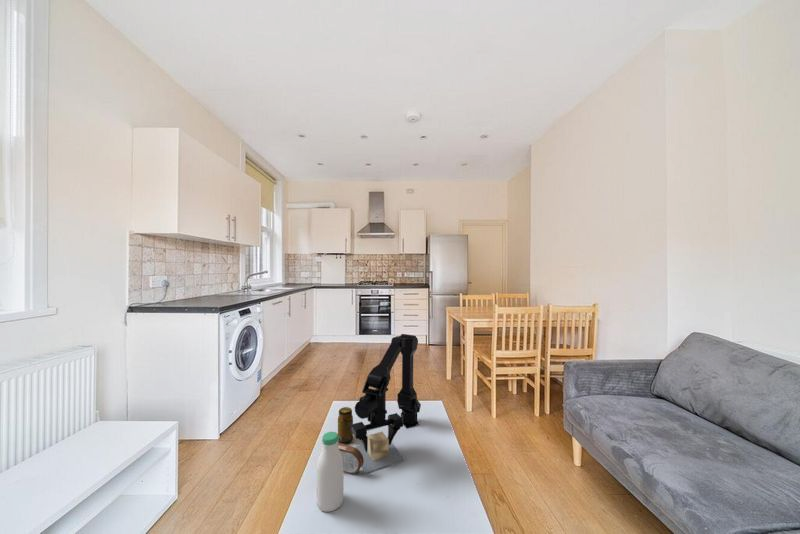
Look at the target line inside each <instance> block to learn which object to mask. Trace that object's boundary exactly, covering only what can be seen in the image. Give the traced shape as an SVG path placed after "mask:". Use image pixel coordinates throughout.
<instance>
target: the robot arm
mask: <svg viewBox="0 0 800 534" xmlns="http://www.w3.org/2000/svg"><path fill="white" fill-rule="evenodd" d="M418 344H419V338H418V337H417V336H416V335H414V334H413V335H412V334H407V333H401V334H400V335H397V336H394V337H392V338H391V342H390V344H389V346H388V348H387V350H386V351H385V353H384V355H383V357H382V359H381V360H380V362H379V363H378V364H377V365H376V366H374V367H372V369H371V370H370V372H369V373H368V374H367V377H366V380H365V382H364V385H363V388H362V391H361V393H362V394H365V395H363V396H360V397H359V401H358V402H356V403H355V406H354V412H355V414H356V416H357V418H359V419H361V420H362V419H363V420H365V419H367V422H369V423H368V424H364V423H363V422H362V421H360V422H355V423H353V425H352V433H353V436H354V437H355V438H356V439H357V440H358V441H361V443H362V445H363V446H364V449H365V451H366V452H367V450H368V432H369V431H373V430H375V429H379V428H382V427H386V426H387V438H388V440H389V445H390V444H391V442H392V443H393V440H394V438H395V436H396V434H397V433H398V432H399V430H401V428H403V427H405V428H406V429H408V428H411V427H415V426H419V425H420V423H419V421H418V413H420V410H421V405H422V404H421V403H420V400H418V395H417V392H416V390H415V389H414V354H415V353H416V351H417V350H418ZM400 354H401V360H402V361H401V389H400V390H399V392H398V393H397V400H396V402H397V406H398V409H399V410H401V413H400V415H399V414H398V413H397V412H396V413H392V414H388V410H387V409H386V407H387V406H386V401H387V399H386V397H387V396H386V395H387V393H386V392H388V391H389V388H388V386H389V384H390V380H391V371H392V368H393V366H394V364H395V363H396V361H397V358H398V357H399V355H400ZM387 414H388V415H387ZM386 415H387V419H386Z"/></svg>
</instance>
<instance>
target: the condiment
mask: <svg viewBox="0 0 800 534" xmlns="http://www.w3.org/2000/svg"><path fill="white" fill-rule="evenodd" d="M337 416H338V417H337V434H338V443H340V444H344V445H349V446H353V445H355V444H357V443H359V442H360V440H359V439H356V438H355V436H354V435H353V433H352V425H353V424H354V416H353V410H352V408H351V407H348V406H346V407H345V406H343V407H341V408H339V410H338V415H337Z"/></svg>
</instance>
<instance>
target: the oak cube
mask: <svg viewBox="0 0 800 534" xmlns="http://www.w3.org/2000/svg"><path fill="white" fill-rule="evenodd" d="M367 437H368V453H369V455H370V456H371V458H372V459H373V461H374V460H378V459H381V458H384V457H387V456H389V440H388V436H386V434H385V433H384V432H383V431H379V432H375V433H372V434H367Z"/></svg>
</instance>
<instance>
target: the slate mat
mask: <svg viewBox="0 0 800 534" xmlns="http://www.w3.org/2000/svg"><path fill="white" fill-rule="evenodd" d="M354 447H355V448H357V449H358V450H359V451H360V452H361V453H362V455H363V459H364V463H363V466H362V467H361V468H362V470H363V471H364V473H365V474H367V475H368V474H370V473H372V472H375V471H378V470H381V469H385V468H388V467H390V466H394V465H396V464H400V463H403V462H405V461H406V458H404V456H403V454H401V452H400V451H399V450H398V449H397V448H396V445H394V444H393V441H392V442H391V444H390V445H389V456H387V457H384V458H381V459H378V460H374V461H373V459H372V458H371V456H370V455H369V453H368V450H367V452H366V451H365V449H364V446H363V444H362V445H358V446H354Z"/></svg>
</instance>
